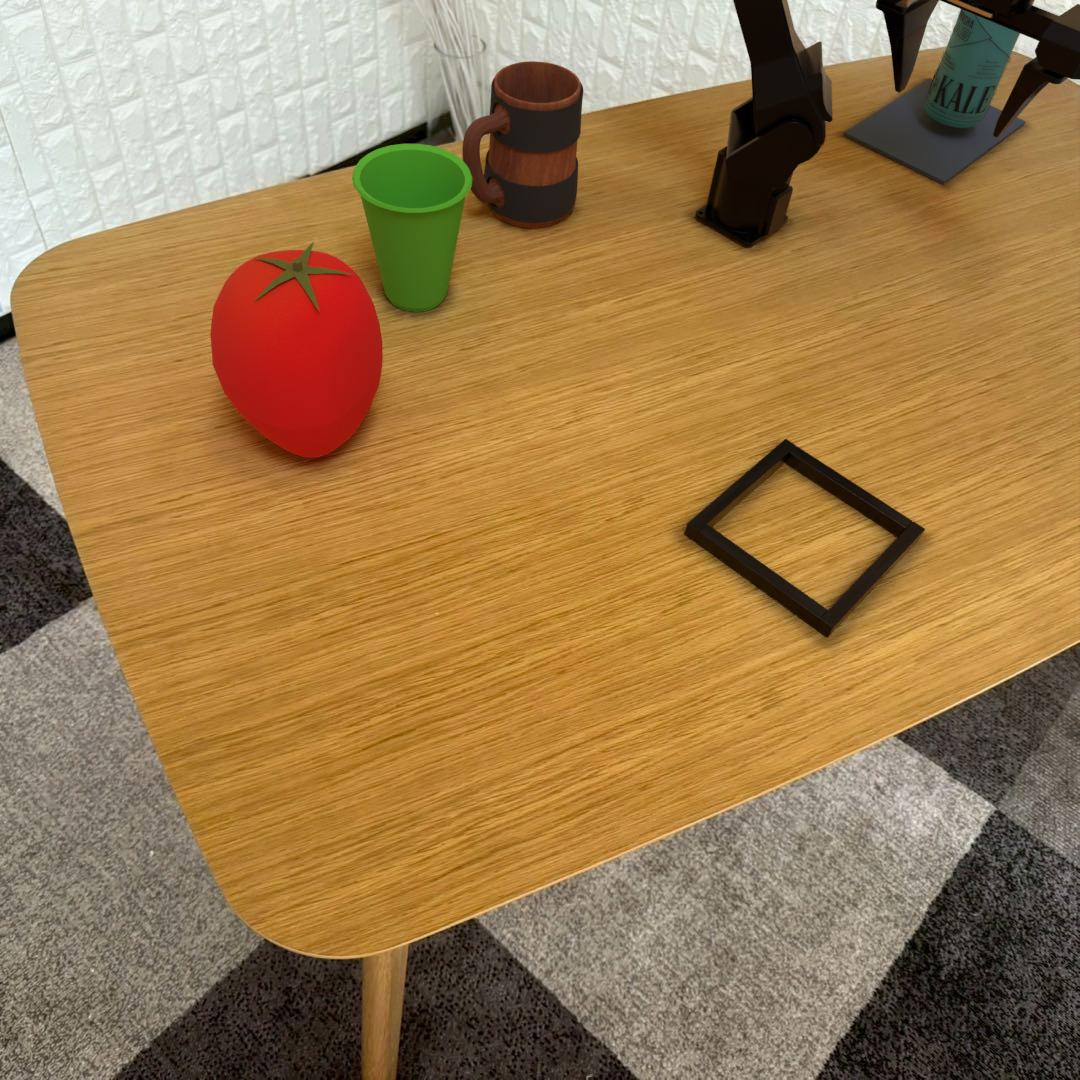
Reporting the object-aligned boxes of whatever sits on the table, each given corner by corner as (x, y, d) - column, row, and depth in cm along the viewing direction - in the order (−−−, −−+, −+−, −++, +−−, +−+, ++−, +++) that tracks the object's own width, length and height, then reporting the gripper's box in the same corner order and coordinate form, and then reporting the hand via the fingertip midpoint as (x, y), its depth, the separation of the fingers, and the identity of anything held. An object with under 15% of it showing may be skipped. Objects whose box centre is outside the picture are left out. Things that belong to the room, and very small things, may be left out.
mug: (434, 208, 93) (433, 84, 84) (535, 168, 99) (543, 48, 89) (492, 255, 89) (497, 131, 80) (594, 211, 95) (609, 90, 86)
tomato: (395, 477, 72) (385, 320, 61) (230, 492, 70) (190, 332, 59) (379, 359, 80) (368, 200, 69) (230, 370, 78) (194, 208, 67)
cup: (386, 339, 82) (379, 220, 73) (345, 274, 86) (334, 155, 78) (487, 312, 85) (492, 194, 76) (443, 250, 89) (442, 133, 81)
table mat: (842, 135, 107) (844, 132, 106) (928, 81, 116) (929, 78, 115) (943, 184, 102) (945, 181, 102) (1024, 124, 111) (1025, 121, 111)
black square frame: (683, 534, 71) (687, 523, 70) (781, 449, 77) (785, 438, 76) (827, 638, 66) (832, 627, 65) (919, 539, 72) (925, 528, 71)
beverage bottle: (951, 106, 111) (1033, -97, 96) (991, 137, 108) (1083, -68, 92) (904, 116, 109) (980, -90, 94) (943, 147, 106) (1029, -61, 90)
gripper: (1200, -80, 73) (1092, 125, 85) (968, -158, 80) (900, 41, 92) (1138, -40, 67) (1033, 173, 80) (896, -127, 75) (833, 80, 87)
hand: (947, 112), depth 85 cm, fingers open, 9 cm apart
